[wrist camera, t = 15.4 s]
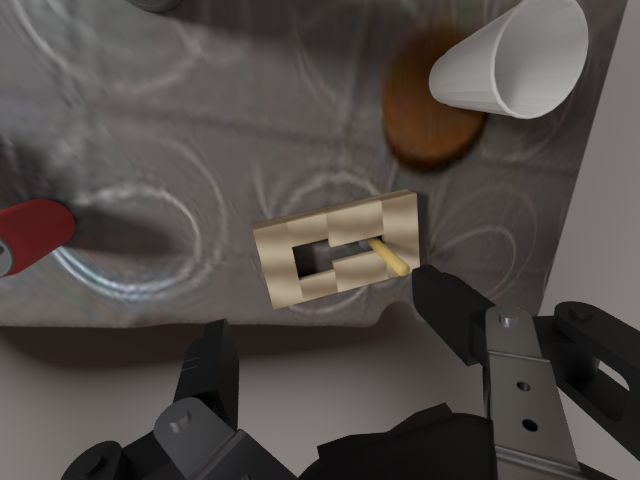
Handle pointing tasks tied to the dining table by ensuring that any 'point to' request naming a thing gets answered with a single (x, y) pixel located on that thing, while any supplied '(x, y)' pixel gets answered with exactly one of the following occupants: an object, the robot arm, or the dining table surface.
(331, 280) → the keyhole board
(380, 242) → the headed peg
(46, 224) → the beer can
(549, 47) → the cup
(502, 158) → the dining table surface
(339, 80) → the dining table surface
